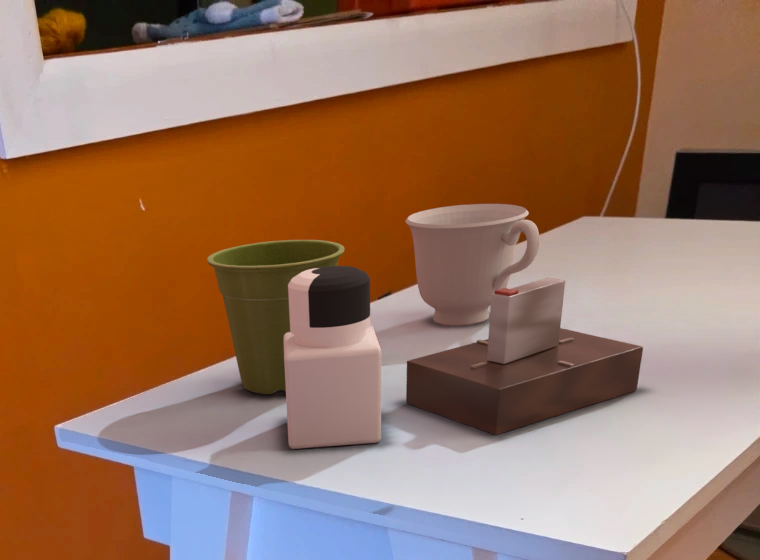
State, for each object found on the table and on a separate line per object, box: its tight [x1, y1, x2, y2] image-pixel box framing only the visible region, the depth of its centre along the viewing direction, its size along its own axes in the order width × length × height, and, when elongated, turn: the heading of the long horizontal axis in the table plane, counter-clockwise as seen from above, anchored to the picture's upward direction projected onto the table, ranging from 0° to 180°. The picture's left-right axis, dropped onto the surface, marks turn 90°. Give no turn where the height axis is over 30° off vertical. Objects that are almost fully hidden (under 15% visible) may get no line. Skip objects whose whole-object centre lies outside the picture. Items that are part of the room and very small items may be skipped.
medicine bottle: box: [284, 265, 382, 450], centre depth 73 cm, size 7×7×12 cm
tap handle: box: [487, 277, 566, 364], centre depth 76 cm, size 6×2×5 cm, turn 125°
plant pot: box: [206, 239, 346, 395], centre depth 85 cm, size 12×12×11 cm
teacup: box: [404, 203, 541, 326], centre depth 98 cm, size 12×15×10 cm
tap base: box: [405, 327, 644, 436], centre depth 78 cm, size 15×11×4 cm
